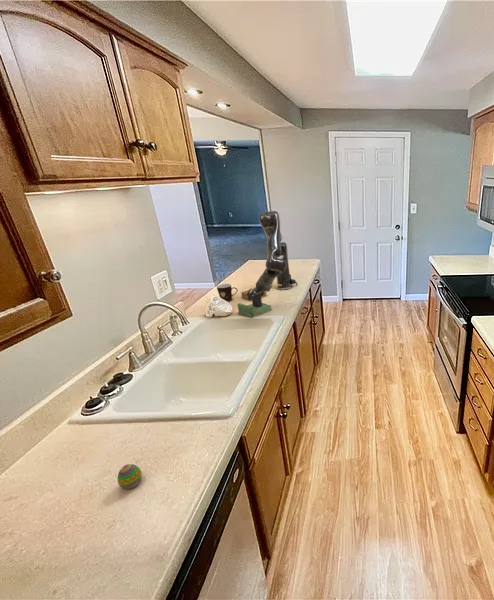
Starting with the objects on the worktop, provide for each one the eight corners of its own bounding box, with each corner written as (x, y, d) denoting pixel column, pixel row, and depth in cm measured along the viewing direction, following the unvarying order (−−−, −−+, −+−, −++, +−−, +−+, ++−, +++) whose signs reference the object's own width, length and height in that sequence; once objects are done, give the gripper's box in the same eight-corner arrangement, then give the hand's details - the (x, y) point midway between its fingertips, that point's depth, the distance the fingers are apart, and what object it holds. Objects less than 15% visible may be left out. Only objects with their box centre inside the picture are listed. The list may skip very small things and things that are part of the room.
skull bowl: (208, 309, 197) (215, 292, 193) (229, 321, 199) (237, 305, 195) (197, 315, 187) (205, 298, 183) (220, 328, 189) (228, 311, 185)
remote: (257, 304, 200) (254, 290, 197) (262, 306, 197) (260, 291, 194) (252, 305, 198) (250, 291, 194) (258, 307, 195) (255, 293, 192)
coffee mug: (216, 301, 213) (213, 287, 209) (226, 297, 220) (224, 283, 217) (229, 304, 209) (227, 289, 205) (240, 299, 216) (237, 285, 213)
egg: (138, 489, 84) (131, 472, 82) (116, 493, 83) (109, 475, 81) (146, 474, 89) (141, 457, 87) (126, 477, 88) (120, 460, 86)
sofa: (258, 306, 206) (257, 297, 203) (271, 310, 199) (270, 300, 197) (238, 313, 195) (237, 303, 193) (251, 317, 188) (249, 308, 186)
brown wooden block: (257, 293, 229) (256, 287, 227) (266, 295, 223) (265, 290, 222) (242, 298, 219) (241, 292, 218) (251, 300, 214) (250, 295, 213)
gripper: (271, 273, 192) (261, 288, 202) (250, 279, 181) (241, 295, 191) (278, 283, 191) (268, 298, 201) (257, 290, 180) (248, 305, 190)
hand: (255, 297), depth 196 cm, fingers open, 8 cm apart
